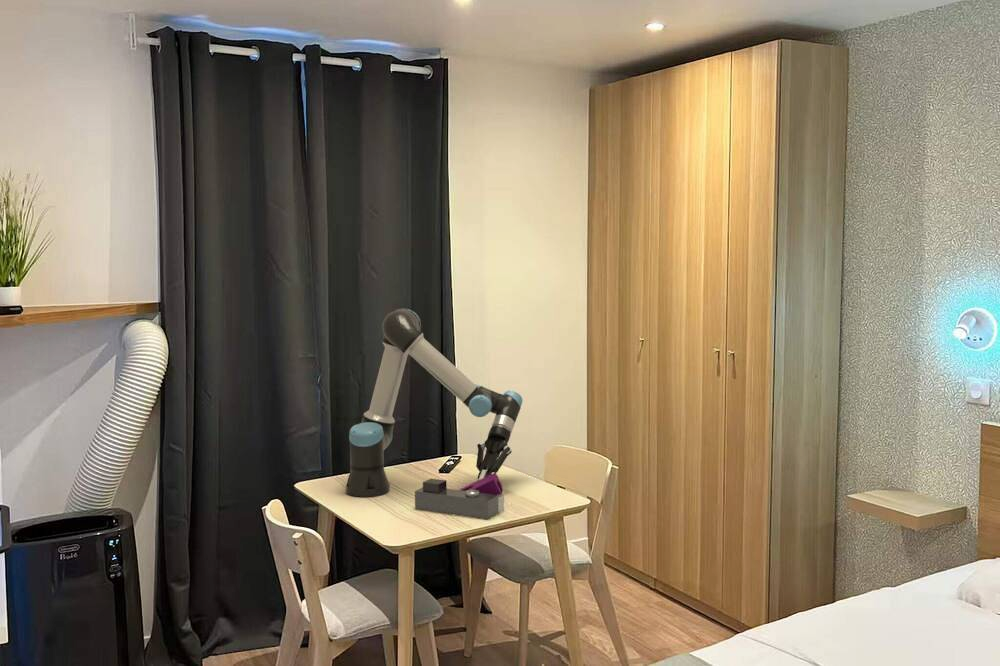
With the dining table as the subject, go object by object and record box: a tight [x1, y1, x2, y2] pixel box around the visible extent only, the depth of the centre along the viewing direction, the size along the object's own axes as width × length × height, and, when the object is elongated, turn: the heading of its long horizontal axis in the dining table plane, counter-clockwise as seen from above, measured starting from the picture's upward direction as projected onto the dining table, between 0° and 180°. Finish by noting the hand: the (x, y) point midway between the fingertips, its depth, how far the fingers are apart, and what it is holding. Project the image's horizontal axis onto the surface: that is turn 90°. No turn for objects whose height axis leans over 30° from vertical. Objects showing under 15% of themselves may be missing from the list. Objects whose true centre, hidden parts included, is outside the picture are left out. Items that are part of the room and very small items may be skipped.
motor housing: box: [414, 478, 505, 520], centre depth 285 cm, size 27×11×9 cm, turn 63°
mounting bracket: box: [458, 472, 504, 495], centre depth 292 cm, size 9×8×18 cm
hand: (479, 488), depth 298 cm, fingers closed
